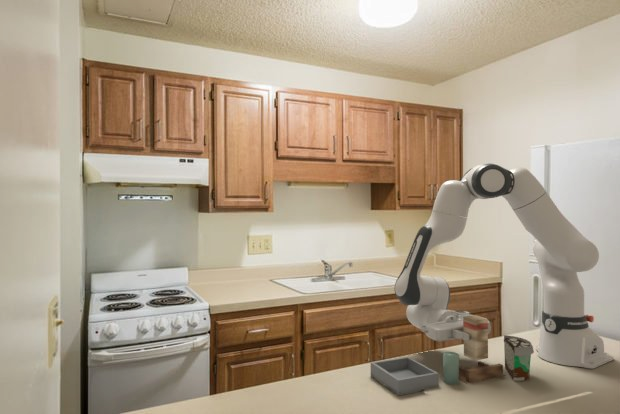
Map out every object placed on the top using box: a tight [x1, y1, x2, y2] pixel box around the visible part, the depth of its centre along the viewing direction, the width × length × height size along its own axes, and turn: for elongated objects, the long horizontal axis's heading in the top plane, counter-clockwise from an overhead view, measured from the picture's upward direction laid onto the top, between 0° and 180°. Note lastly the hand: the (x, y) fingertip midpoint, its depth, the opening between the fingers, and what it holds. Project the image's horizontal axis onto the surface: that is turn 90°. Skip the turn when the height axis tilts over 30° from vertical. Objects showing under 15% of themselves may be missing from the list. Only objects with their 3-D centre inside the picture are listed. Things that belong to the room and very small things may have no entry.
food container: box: [503, 335, 535, 383], centre depth 119 cm, size 12×6×10 cm, turn 168°
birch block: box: [463, 314, 489, 361], centre depth 120 cm, size 5×5×11 cm
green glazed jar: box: [442, 351, 460, 386], centre depth 115 cm, size 4×4×8 cm
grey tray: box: [370, 356, 440, 397], centre depth 116 cm, size 13×14×4 cm
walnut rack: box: [459, 360, 507, 384], centre depth 120 cm, size 14×9×4 cm, turn 112°
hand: (477, 336), depth 119 cm, fingers closed on birch block, 4 cm apart
